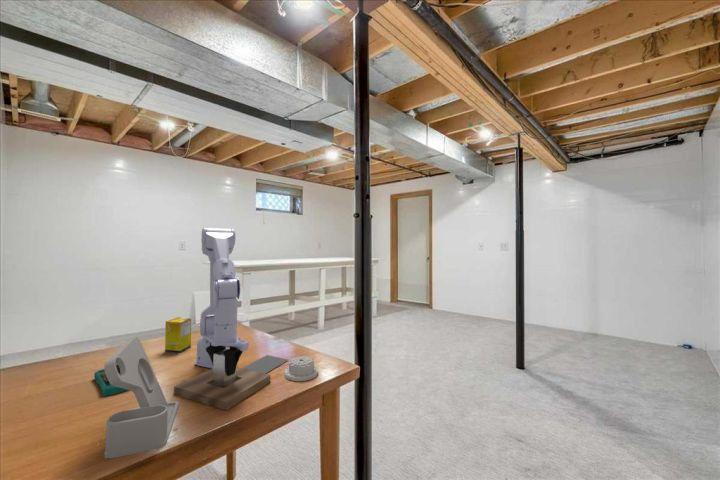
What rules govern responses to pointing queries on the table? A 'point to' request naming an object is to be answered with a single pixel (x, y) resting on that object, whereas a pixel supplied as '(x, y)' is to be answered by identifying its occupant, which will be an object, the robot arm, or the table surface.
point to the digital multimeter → (106, 384)
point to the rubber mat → (265, 364)
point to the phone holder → (154, 414)
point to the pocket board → (221, 397)
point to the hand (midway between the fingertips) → (224, 372)
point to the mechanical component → (301, 369)
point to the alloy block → (221, 371)
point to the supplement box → (178, 335)
